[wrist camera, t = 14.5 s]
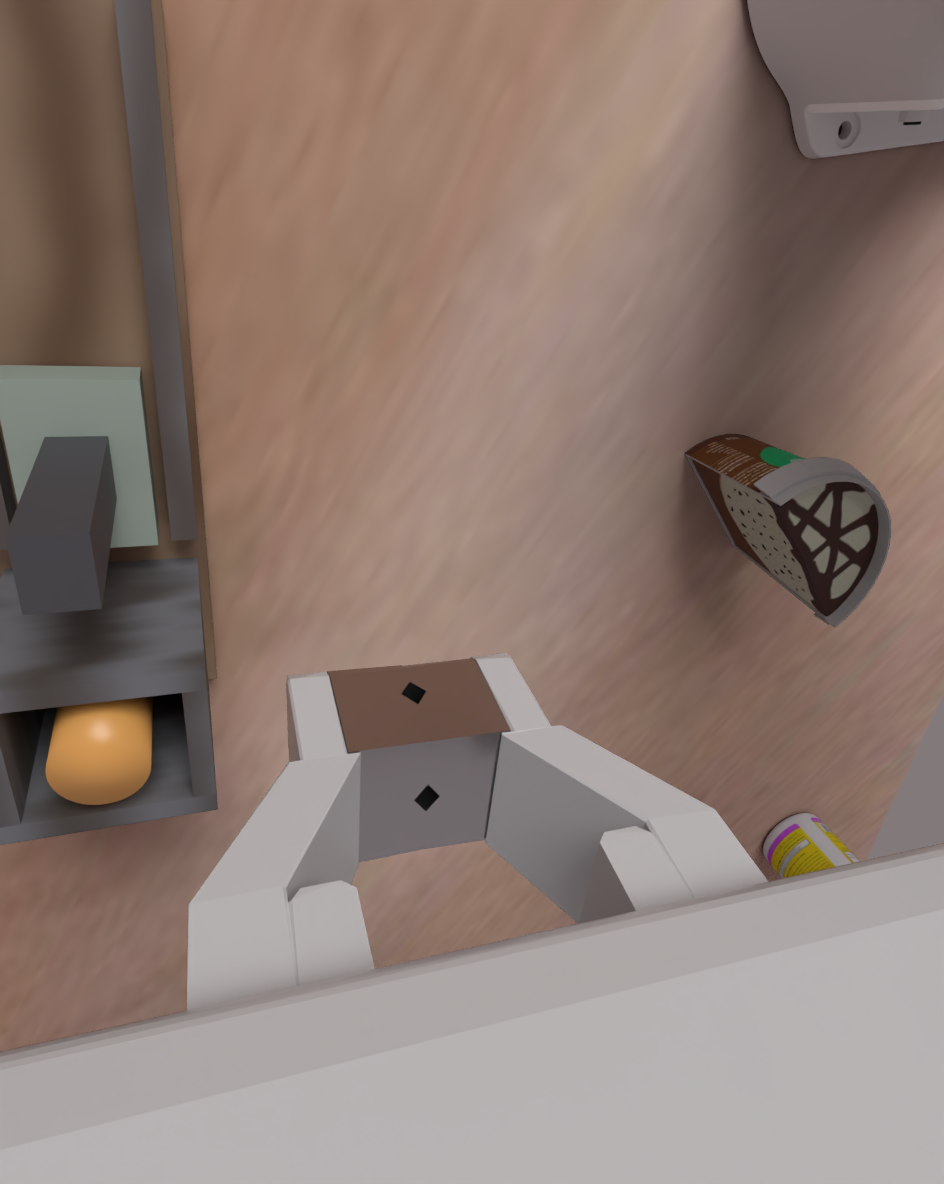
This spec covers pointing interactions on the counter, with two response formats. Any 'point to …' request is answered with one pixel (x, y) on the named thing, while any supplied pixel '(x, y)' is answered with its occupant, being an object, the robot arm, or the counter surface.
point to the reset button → (101, 750)
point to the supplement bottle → (804, 846)
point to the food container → (798, 519)
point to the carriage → (75, 479)
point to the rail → (108, 339)
